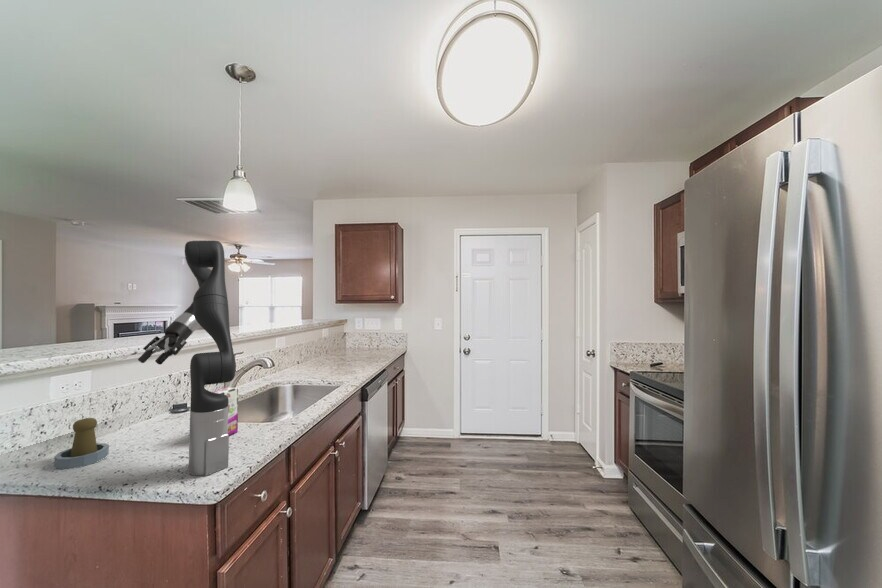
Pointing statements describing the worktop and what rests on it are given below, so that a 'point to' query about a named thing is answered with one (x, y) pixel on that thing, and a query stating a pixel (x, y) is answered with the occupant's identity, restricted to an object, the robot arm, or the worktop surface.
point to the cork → (84, 437)
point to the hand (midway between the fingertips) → (149, 362)
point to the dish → (80, 457)
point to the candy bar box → (231, 408)
